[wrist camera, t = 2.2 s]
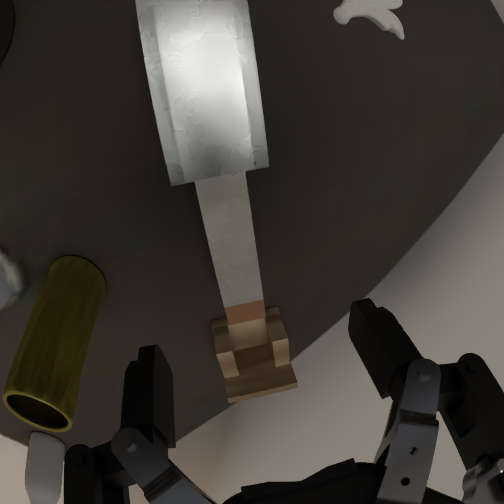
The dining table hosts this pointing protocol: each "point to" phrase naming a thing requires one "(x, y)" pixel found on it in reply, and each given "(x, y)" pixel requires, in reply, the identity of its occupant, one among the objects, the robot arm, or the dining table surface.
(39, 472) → the milk bottle
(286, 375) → the socket
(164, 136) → the sleeve
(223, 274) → the white orange-tipped bar
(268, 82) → the dining table surface
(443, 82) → the dining table surface
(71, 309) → the vase
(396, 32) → the acanthus leaf ornament
